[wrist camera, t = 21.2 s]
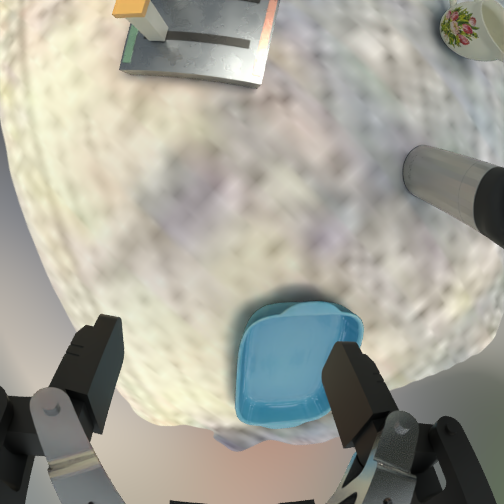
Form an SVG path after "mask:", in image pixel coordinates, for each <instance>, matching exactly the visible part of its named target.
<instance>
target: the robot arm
mask: <svg viewBox="0 0 504 504" xmlns="http://www.w3.org/2000/svg"><path fill="white" fill-rule="evenodd" d="M403 177H404V182H405V185H406V187H407V189H408V190H409V191H410V192H411V194H413V195H414V196H416V197H418V198H420V199H422V200H424V201H426V202H427V203H429V204H431V205H433V206H435V207H437V208H439V209H440V210H442V211H444V212H446V213H448V214H449V215H451V216H453V217H455V218H456V219H458V220H460V221H462V222H463V223H465V224H467V225H468V226H470V227H472V228H473V229H475V230H477V231H478V232H480V233H481V234H483V235H484V236H486V237H488V238H489V239H490V240H492V241H493V242H495V243H496V244H498V245H499V246H500V247H502V248H503V249H504V168H502V167H499V166H496V165H494V164H491V163H487V162H484V161H481V160H478V159H474V158H471V157H468V156H464V155H461V154H457V153H454V152H450V151H446V150H443V149H439V148H435V147H431V146H426V145H422V146H418V147H416V148H415V149H413V150H412V151H411V152H410V153H409V155H408V156H407V158H406V161H405V163H404V168H403ZM123 359H124V342H123V332H122V321H121V318H120V317H115V316H110V315H105V314H100V315H99V317H98V319H97V321H96V323H95V325H94V327H93V326H89V325H85V326H84V327H83V328H82V329H80V330H79V331H78V332H77V333H76V334H75V336H74V338H73V340H72V342H71V345H70V346H69V347H68V349H67V351H66V354H65V355H64V357H63V359H62V361H61V363H60V365H59V367H58V369H57V371H56V373H55V375H54V377H53V379H52V381H51V383H50V385H49V387H46V388H43V389H40V390H39V391H37V392H36V393H35V394H34V395H33V396H32V397H18V396H8V395H7V394H6V392H5V390H4V389H3V388H2V387H1V386H0V504H25V500H26V495H27V489H28V485H29V480H30V475H31V470H32V466H33V462H34V458H35V456H45V457H46V459H47V462H48V465H49V468H48V474H49V476H50V479H51V482H52V484H53V486H54V488H55V490H56V493H57V495H58V497H59V499H60V501H61V503H62V504H125V502H124V501H123V499H122V498H121V496H120V495H119V493H118V492H117V490H116V489H115V487H114V485H113V484H112V482H111V480H110V479H109V477H108V475H107V473H106V472H105V470H104V468H103V466H102V465H101V463H100V461H99V459H98V457H97V455H96V453H95V452H94V450H93V448H92V446H91V444H90V441H91V437H92V433H93V432H94V433H98V434H102V433H103V429H104V425H105V421H106V418H107V414H108V410H109V407H110V403H111V400H112V396H113V393H114V389H115V386H116V383H117V380H118V376H119V373H120V370H121V367H122V364H123ZM379 373H380V372H379V370H378V368H377V366H376V365H375V363H374V362H373V361H372V360H371V359H370V358H369V357H368V356H367V355H366V354H363V353H362V352H361V350H360V348H359V346H358V344H357V343H356V342H351V341H337V342H336V343H335V344H334V346H333V348H332V350H331V352H330V354H329V356H328V359H327V361H326V363H325V365H324V367H323V369H322V375H321V379H322V384H323V387H324V390H325V393H326V396H327V399H328V402H329V405H330V408H331V411H332V414H333V417H334V420H335V423H336V426H337V429H338V432H339V436H340V439H341V442H342V445H343V448H351V447H355V449H356V452H355V453H354V455H353V456H352V459H351V461H350V463H349V465H348V467H347V469H346V472H345V474H344V476H343V478H342V480H341V482H340V484H339V486H338V488H337V490H336V492H335V493H334V494H333V496H332V497H331V498H330V499H329V500H328V502H327V503H326V504H496V501H495V498H494V496H493V493H492V491H491V488H490V486H489V484H488V481H487V479H486V477H485V474H484V472H483V470H482V468H481V465H480V463H479V461H478V459H477V457H476V455H475V452H474V450H473V449H472V446H471V445H470V442H469V440H468V438H467V436H466V434H465V432H464V430H463V428H462V426H461V425H460V423H459V422H458V421H457V420H455V419H454V418H452V417H449V416H443V417H441V418H440V419H439V420H438V421H437V422H436V423H435V424H434V425H431V424H421V423H418V422H417V421H416V419H415V418H414V417H413V416H412V415H411V414H409V413H407V412H405V411H399V409H398V407H397V405H396V403H395V401H394V399H393V398H392V395H391V393H390V391H389V389H388V388H387V386H386V384H385V382H384V380H383V378H382V376H381V374H379ZM438 461H439V464H440V466H441V468H442V471H443V473H444V476H445V479H446V487H445V489H444V490H442V488H441V485H440V483H439V480H438V477H437V475H436V472H435V469H434V467H433V465H434V464H435V463H437V462H438ZM170 504H203V503H189V502H180V501H172V500H170ZM280 504H315V503H314V500H305V501H297V502H287V503H280Z"/></svg>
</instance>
